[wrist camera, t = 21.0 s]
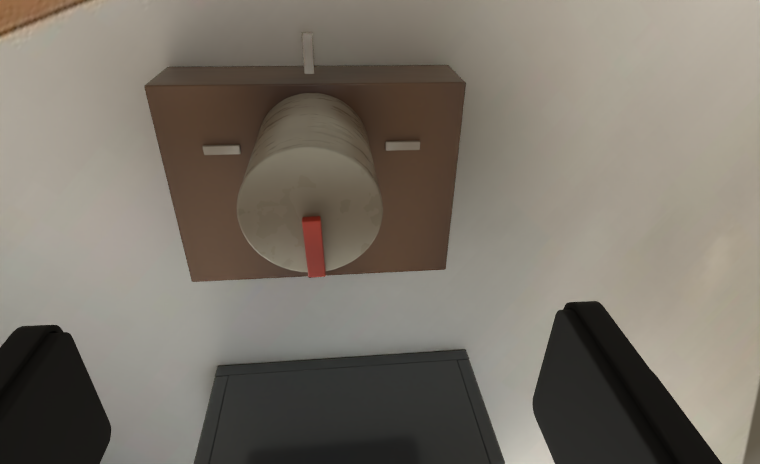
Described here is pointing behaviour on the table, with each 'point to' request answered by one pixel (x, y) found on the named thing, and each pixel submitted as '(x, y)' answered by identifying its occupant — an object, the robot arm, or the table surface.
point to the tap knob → (310, 186)
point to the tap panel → (239, 133)
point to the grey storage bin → (349, 412)
